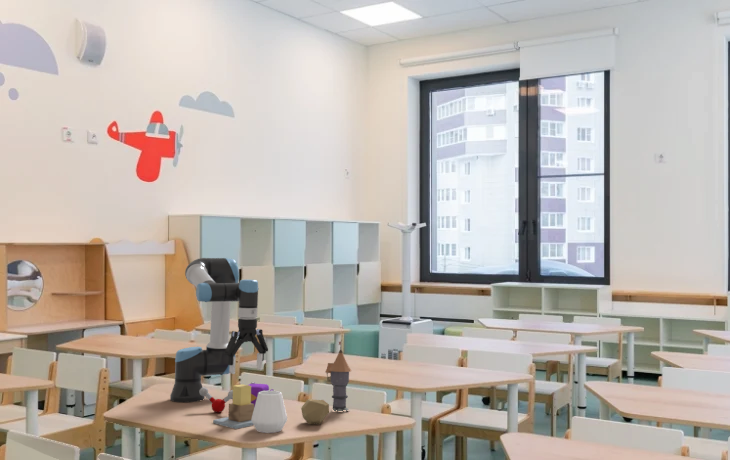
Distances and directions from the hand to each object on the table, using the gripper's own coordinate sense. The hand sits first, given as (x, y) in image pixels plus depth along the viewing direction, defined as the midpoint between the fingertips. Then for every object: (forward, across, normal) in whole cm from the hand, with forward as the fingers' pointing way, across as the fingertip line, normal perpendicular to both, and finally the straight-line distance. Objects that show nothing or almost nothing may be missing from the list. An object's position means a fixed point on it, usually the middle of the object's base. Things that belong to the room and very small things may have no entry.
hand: (246, 371), depth 281 cm
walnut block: (+18, -4, -3) cm, 18 cm away
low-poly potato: (+19, +17, -24) cm, 35 cm away
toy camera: (+20, +21, +16) cm, 33 cm away
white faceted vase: (+19, -4, -20) cm, 28 cm away
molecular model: (+20, +1, +19) cm, 27 cm away
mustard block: (+12, -4, -3) cm, 13 cm away
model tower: (+20, +40, -13) cm, 46 cm away
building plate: (+19, -4, -3) cm, 20 cm away
